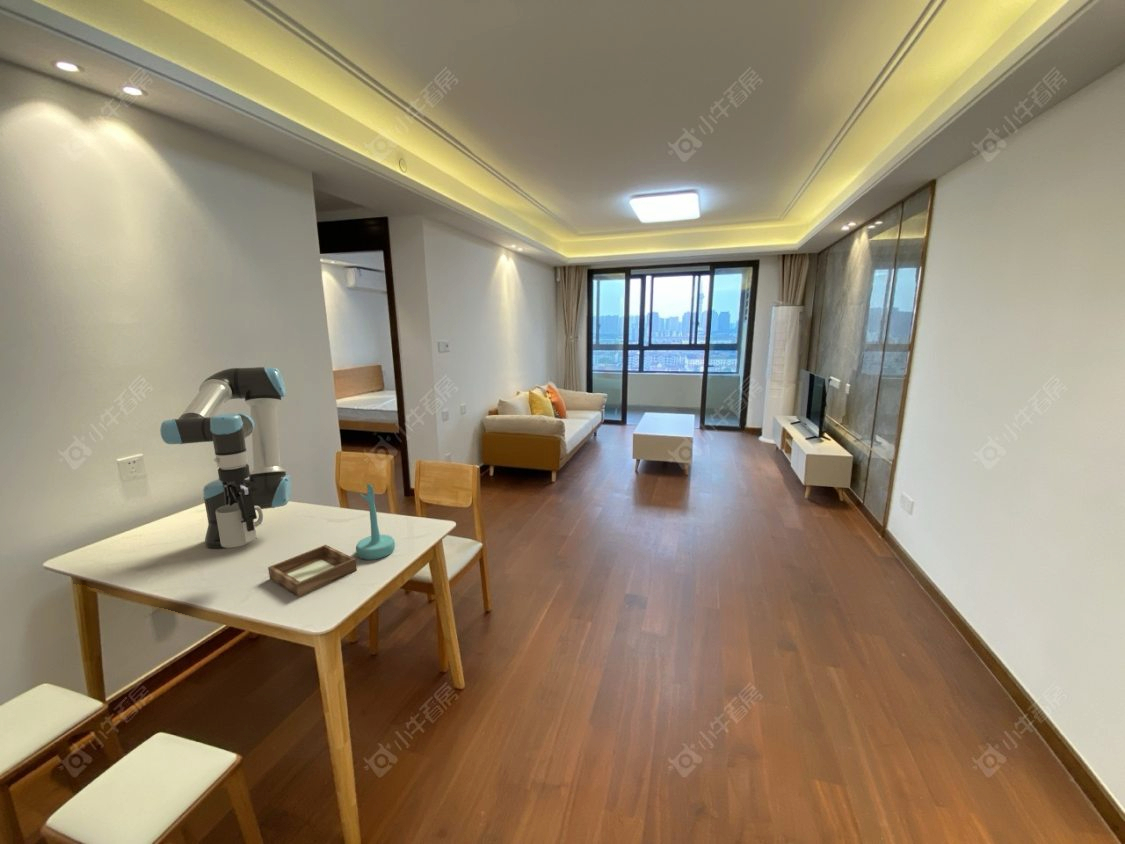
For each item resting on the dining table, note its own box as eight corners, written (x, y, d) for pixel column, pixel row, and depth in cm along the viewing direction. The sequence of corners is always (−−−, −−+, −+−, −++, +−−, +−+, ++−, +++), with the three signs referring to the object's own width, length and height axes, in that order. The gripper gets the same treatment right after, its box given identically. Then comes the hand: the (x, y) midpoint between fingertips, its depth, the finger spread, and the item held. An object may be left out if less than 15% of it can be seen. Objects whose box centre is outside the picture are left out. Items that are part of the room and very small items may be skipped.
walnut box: (269, 578, 139) (268, 567, 138) (326, 555, 154) (325, 544, 153) (298, 597, 129) (297, 584, 128) (356, 570, 144) (355, 558, 143)
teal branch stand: (377, 541, 164) (371, 476, 159) (402, 547, 159) (397, 481, 154) (348, 556, 153) (341, 487, 148) (374, 564, 148) (368, 492, 143)
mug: (230, 550, 131) (224, 515, 128) (215, 543, 134) (209, 509, 132) (272, 534, 141) (267, 501, 139) (257, 528, 145) (252, 496, 143)
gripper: (204, 463, 135) (215, 532, 140) (233, 475, 124) (245, 550, 129) (232, 457, 142) (243, 523, 146) (263, 468, 130) (273, 540, 135)
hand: (244, 536), depth 137 cm, fingers closed on mug, 8 cm apart
